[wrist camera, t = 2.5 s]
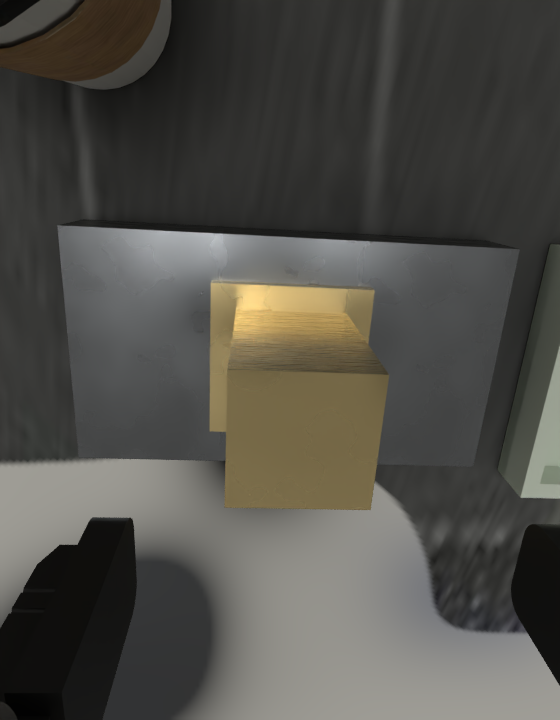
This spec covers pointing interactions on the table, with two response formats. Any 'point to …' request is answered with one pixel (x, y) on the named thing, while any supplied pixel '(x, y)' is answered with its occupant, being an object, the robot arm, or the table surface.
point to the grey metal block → (274, 265)
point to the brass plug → (296, 394)
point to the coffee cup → (84, 39)
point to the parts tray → (537, 399)
